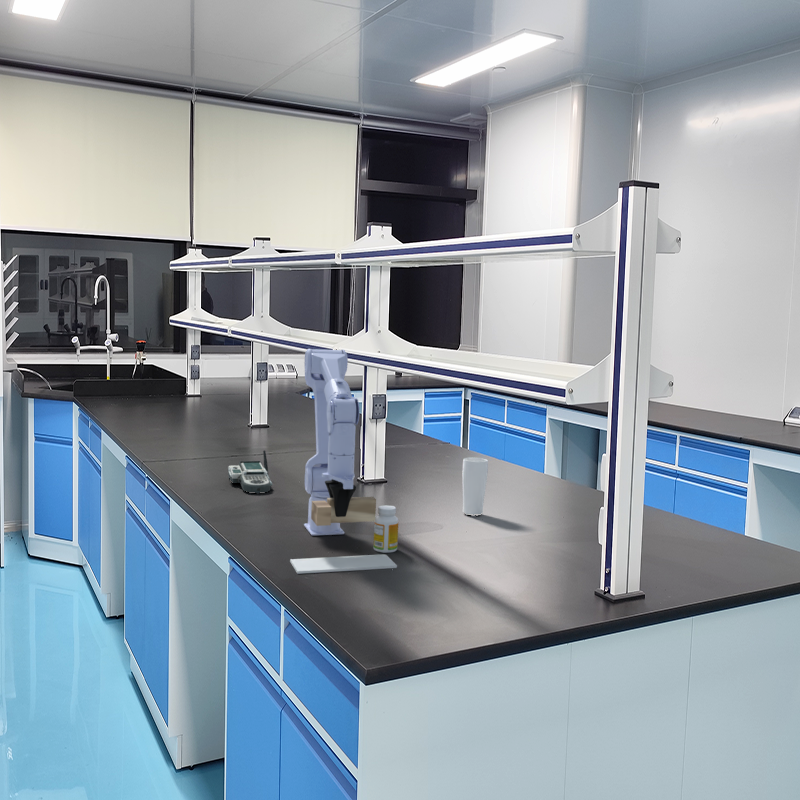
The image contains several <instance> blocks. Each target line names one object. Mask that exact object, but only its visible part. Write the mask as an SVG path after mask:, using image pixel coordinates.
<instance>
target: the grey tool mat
mask: <svg viewBox="0 0 800 800" xmlns="http://www.w3.org/2000/svg"><path fill="white" fill-rule="evenodd" d="M289 562H290V564H291V565H292V567H293V569H294V571H295V572H296V574H298V575H299V574H314V573H315V574H317V573H330V572H332V573H333V572H349V571H351V572H352V571H365V570H366V571H367V570H368V571H369V570H383V569H397V568H398V565H397V564H396V563H395V562H394V561H393V560H392V559H391V558H390V557H389V556H388V555H387V554H369V555H368V554H364V555H346V556H345V555H344V556H327V557H310V558H293V559H292V558H290V560H289Z"/></svg>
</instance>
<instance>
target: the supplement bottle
mask: <svg viewBox="0 0 800 800" xmlns="http://www.w3.org/2000/svg"><path fill="white" fill-rule="evenodd" d="M396 512H397V508H396V506H394V505H379V506H378V508H377V513H378V515H375V521H373V522H374V524H373V550H374V551H376V552H378V553H387V554H388V553H394V552H396V551H397V550H398V544H399V543H398V541H399V539H398V538H399V518H398V517H397V516H396Z"/></svg>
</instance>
